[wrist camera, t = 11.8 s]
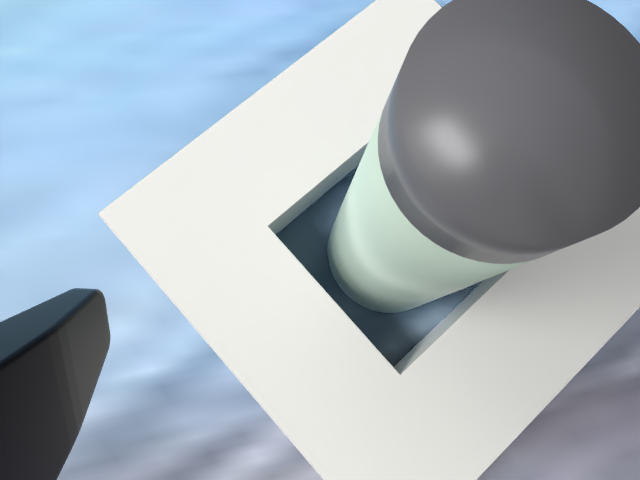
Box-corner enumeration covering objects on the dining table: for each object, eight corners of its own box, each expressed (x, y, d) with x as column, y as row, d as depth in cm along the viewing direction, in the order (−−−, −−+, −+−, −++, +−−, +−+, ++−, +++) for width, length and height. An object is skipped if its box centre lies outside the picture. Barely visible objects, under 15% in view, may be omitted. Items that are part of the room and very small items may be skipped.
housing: (644, 267, 23) (687, 256, 21) (381, 540, 20) (395, 564, 18) (395, 12, 25) (409, -26, 23) (117, 230, 22) (97, 213, 19)
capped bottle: (473, 257, 23) (724, 122, 10) (386, 339, 22) (542, 304, 9) (391, 168, 23) (531, -64, 11) (301, 244, 22) (339, 88, 10)
